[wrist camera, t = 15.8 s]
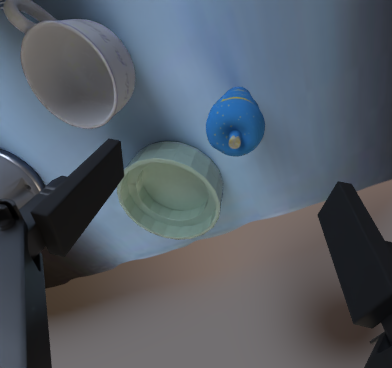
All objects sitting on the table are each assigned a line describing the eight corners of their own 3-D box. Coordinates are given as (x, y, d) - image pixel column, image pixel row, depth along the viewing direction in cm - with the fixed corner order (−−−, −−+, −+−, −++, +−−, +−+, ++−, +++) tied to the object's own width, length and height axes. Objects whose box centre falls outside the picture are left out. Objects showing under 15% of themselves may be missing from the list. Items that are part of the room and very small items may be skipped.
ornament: (218, 70, 28) (194, 114, 17) (262, 67, 27) (269, 112, 15) (220, 112, 31) (200, 174, 20) (259, 110, 30) (264, 176, 18)
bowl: (117, 183, 43) (102, 203, 39) (160, 119, 34) (146, 135, 29) (187, 229, 47) (181, 251, 42) (244, 182, 37) (242, 205, 33)
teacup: (159, 90, 31) (135, 111, 25) (100, 118, 35) (67, 142, 29) (93, -38, 24) (38, -53, 18) (30, 16, 29) (-32, 18, 22)
